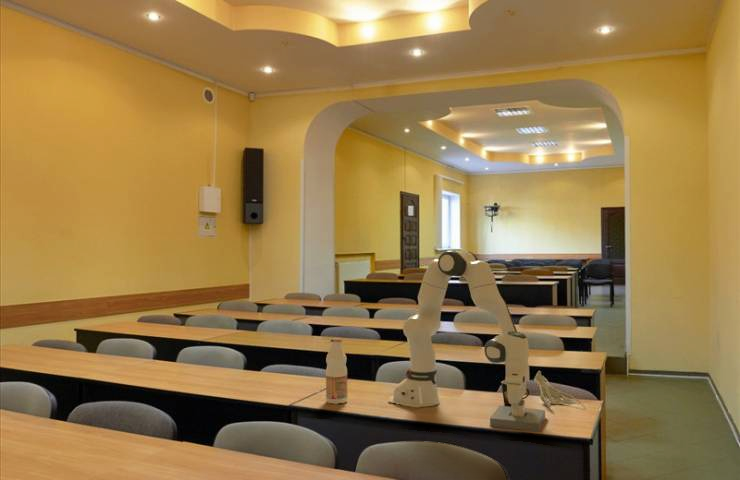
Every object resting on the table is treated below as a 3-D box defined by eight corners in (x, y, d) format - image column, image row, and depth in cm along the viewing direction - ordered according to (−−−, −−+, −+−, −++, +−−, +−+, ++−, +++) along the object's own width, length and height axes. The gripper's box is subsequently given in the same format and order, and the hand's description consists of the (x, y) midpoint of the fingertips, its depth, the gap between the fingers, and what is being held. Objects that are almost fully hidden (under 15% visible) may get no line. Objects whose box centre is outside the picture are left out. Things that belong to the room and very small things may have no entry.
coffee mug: (497, 404, 247) (497, 381, 247) (514, 402, 250) (514, 379, 250) (513, 411, 236) (513, 387, 236) (531, 409, 239) (530, 385, 239)
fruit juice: (322, 403, 252) (321, 339, 252) (332, 398, 261) (331, 336, 261) (341, 405, 248) (340, 341, 248) (351, 400, 257) (350, 337, 257)
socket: (490, 426, 218) (490, 418, 218) (499, 412, 234) (499, 405, 234) (539, 431, 211) (538, 423, 211) (545, 417, 227) (545, 410, 227)
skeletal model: (554, 414, 231) (526, 363, 249) (545, 426, 237) (519, 376, 255) (587, 409, 236) (558, 360, 254) (577, 421, 242) (550, 372, 260)
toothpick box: (511, 422, 221) (511, 402, 221) (513, 419, 225) (513, 399, 225) (523, 424, 219) (522, 403, 220) (525, 420, 224) (524, 400, 224)
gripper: (513, 368, 233) (514, 402, 233) (504, 379, 215) (504, 416, 215) (529, 369, 231) (530, 403, 231) (521, 380, 212) (522, 418, 212)
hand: (517, 409), depth 222 cm, fingers open, 8 cm apart
